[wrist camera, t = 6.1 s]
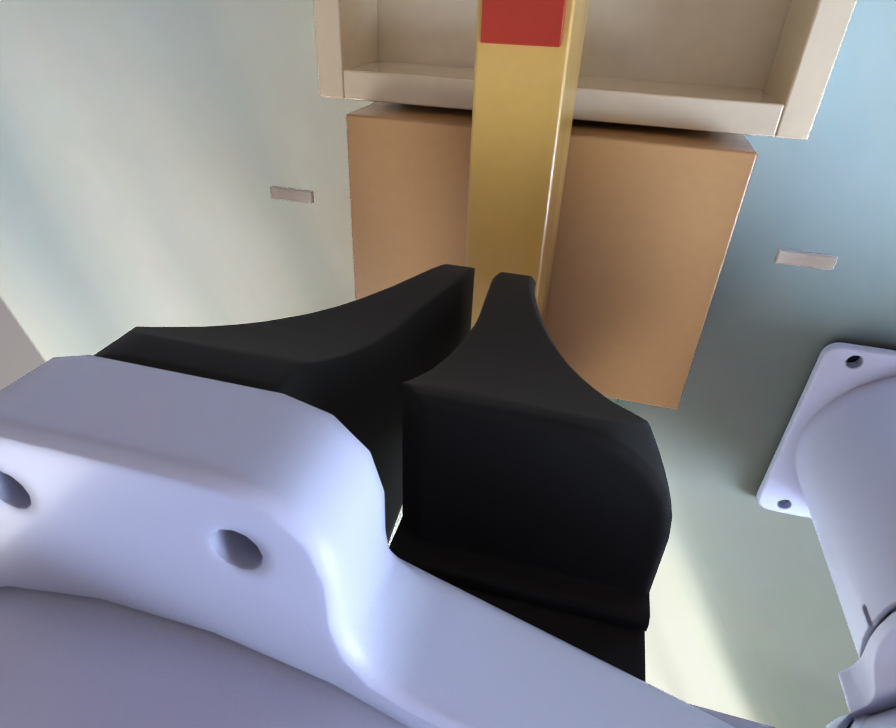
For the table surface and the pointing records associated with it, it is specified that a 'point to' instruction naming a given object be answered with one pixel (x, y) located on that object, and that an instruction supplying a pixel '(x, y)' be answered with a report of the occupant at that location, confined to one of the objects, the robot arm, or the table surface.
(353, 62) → the wooden tray
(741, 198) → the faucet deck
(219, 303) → the table surface
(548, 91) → the golden tan long bar
